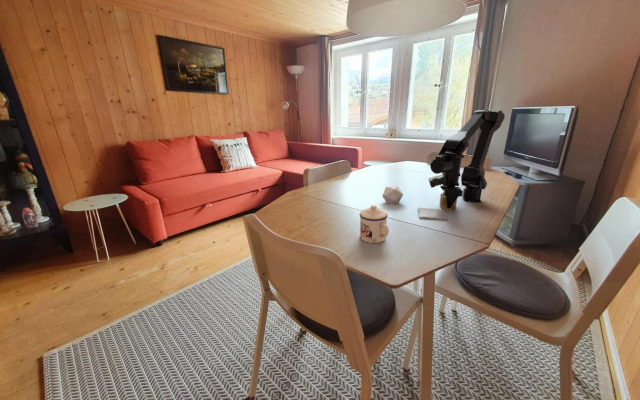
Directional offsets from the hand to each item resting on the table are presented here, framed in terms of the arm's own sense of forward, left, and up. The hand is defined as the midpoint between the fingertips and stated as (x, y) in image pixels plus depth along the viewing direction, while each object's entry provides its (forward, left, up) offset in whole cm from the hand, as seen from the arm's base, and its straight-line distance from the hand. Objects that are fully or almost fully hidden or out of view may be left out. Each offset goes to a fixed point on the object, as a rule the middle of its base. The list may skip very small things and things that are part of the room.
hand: (447, 205), depth 111 cm
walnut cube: (0, 0, -1) cm, 1 cm away
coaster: (+7, +9, -1) cm, 11 cm away
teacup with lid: (+27, +35, -1) cm, 44 cm away
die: (+23, -2, -1) cm, 23 cm away
